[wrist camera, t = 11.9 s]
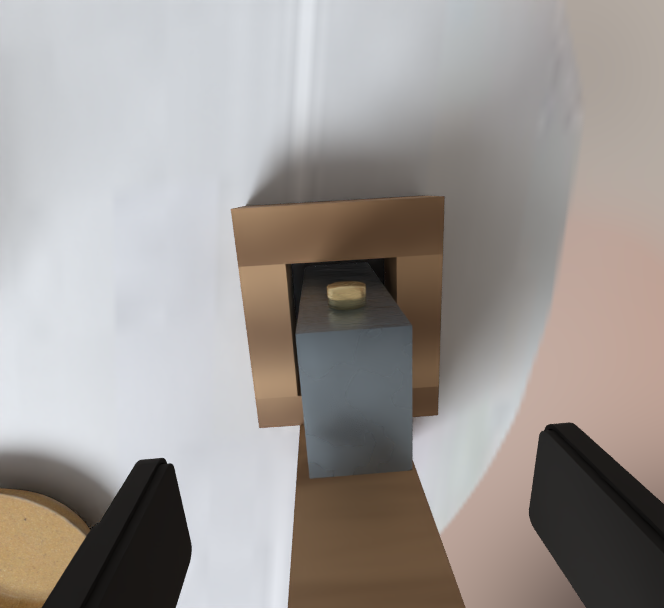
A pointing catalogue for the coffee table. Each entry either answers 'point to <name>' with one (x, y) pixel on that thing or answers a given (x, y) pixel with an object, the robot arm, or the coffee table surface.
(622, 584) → the robot arm
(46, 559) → the plant saucer
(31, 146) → the coffee table surface
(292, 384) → the wooden square frame
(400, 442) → the grey box with cap
